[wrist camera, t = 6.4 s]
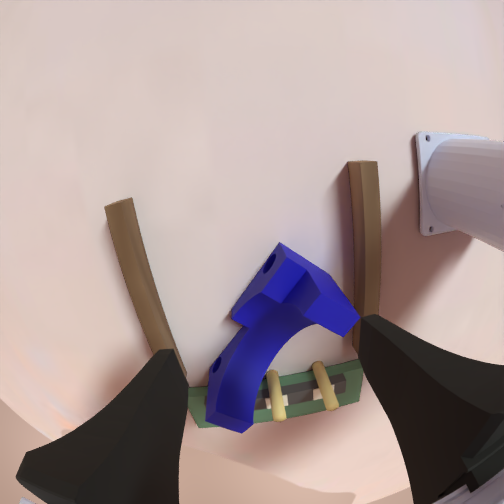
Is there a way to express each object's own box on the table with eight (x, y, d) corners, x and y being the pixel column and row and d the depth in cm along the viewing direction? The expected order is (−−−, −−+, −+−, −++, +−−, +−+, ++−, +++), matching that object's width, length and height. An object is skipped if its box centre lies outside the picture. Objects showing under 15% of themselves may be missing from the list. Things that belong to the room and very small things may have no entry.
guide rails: (363, 160, 17) (377, 161, 15) (364, 342, 22) (373, 355, 20) (116, 201, 17) (104, 206, 15) (174, 373, 22) (170, 389, 20)
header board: (360, 350, 22) (381, 388, 18) (355, 393, 24) (371, 428, 20) (181, 380, 22) (173, 423, 17) (199, 419, 24) (196, 458, 19)
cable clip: (279, 241, 19) (297, 278, 13) (328, 273, 20) (360, 317, 14) (194, 359, 22) (185, 413, 16) (240, 379, 23) (242, 433, 17)
